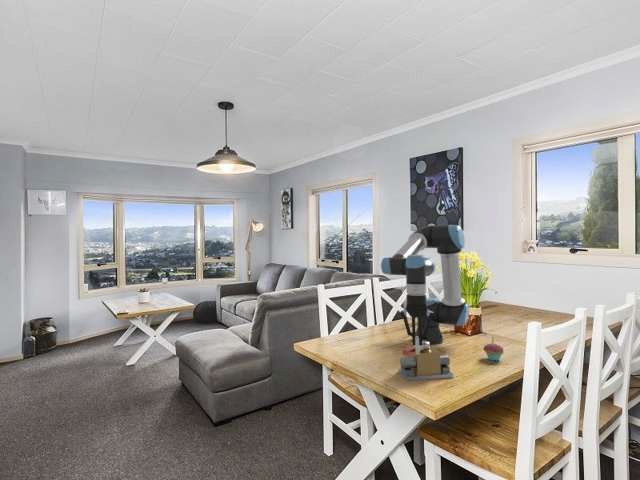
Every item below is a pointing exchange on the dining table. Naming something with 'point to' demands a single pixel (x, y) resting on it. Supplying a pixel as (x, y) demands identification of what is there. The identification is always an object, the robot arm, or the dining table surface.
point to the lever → (412, 349)
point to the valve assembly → (425, 366)
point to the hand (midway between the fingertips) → (417, 353)
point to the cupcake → (493, 350)
